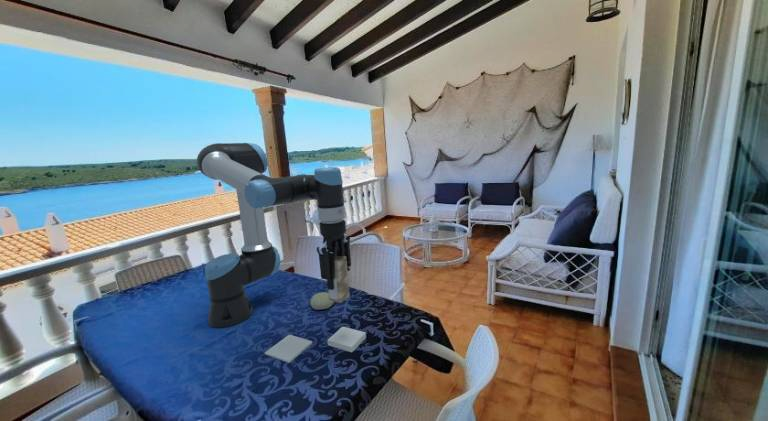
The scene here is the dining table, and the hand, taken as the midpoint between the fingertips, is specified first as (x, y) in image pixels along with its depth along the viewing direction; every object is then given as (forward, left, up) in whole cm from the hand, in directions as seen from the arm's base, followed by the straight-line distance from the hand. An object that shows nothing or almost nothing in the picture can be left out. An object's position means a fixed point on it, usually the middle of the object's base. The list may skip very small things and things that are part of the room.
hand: (339, 294), depth 92 cm
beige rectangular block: (0, 0, -1) cm, 1 cm away
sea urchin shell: (-21, +16, -16) cm, 31 cm away
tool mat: (-13, -10, -15) cm, 23 cm away
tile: (-3, 0, -15) cm, 15 cm away
